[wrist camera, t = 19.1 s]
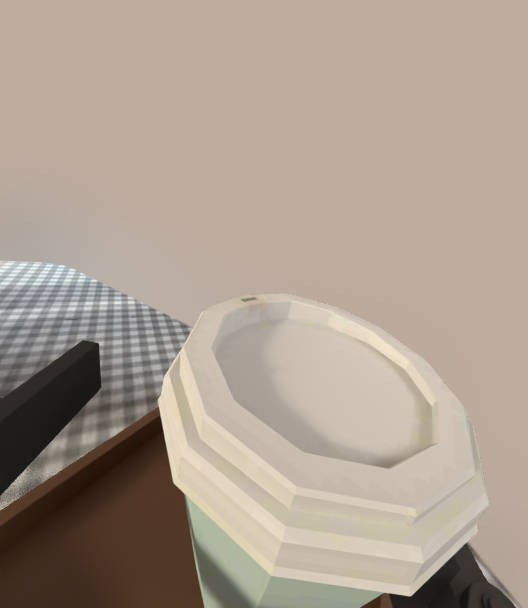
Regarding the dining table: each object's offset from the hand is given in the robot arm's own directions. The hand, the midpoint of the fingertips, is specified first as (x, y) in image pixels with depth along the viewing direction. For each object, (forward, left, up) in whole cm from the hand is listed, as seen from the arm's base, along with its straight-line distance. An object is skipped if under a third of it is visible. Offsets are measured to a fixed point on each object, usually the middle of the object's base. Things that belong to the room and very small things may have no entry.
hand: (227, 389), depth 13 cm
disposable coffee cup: (-4, +1, -10) cm, 11 cm away
